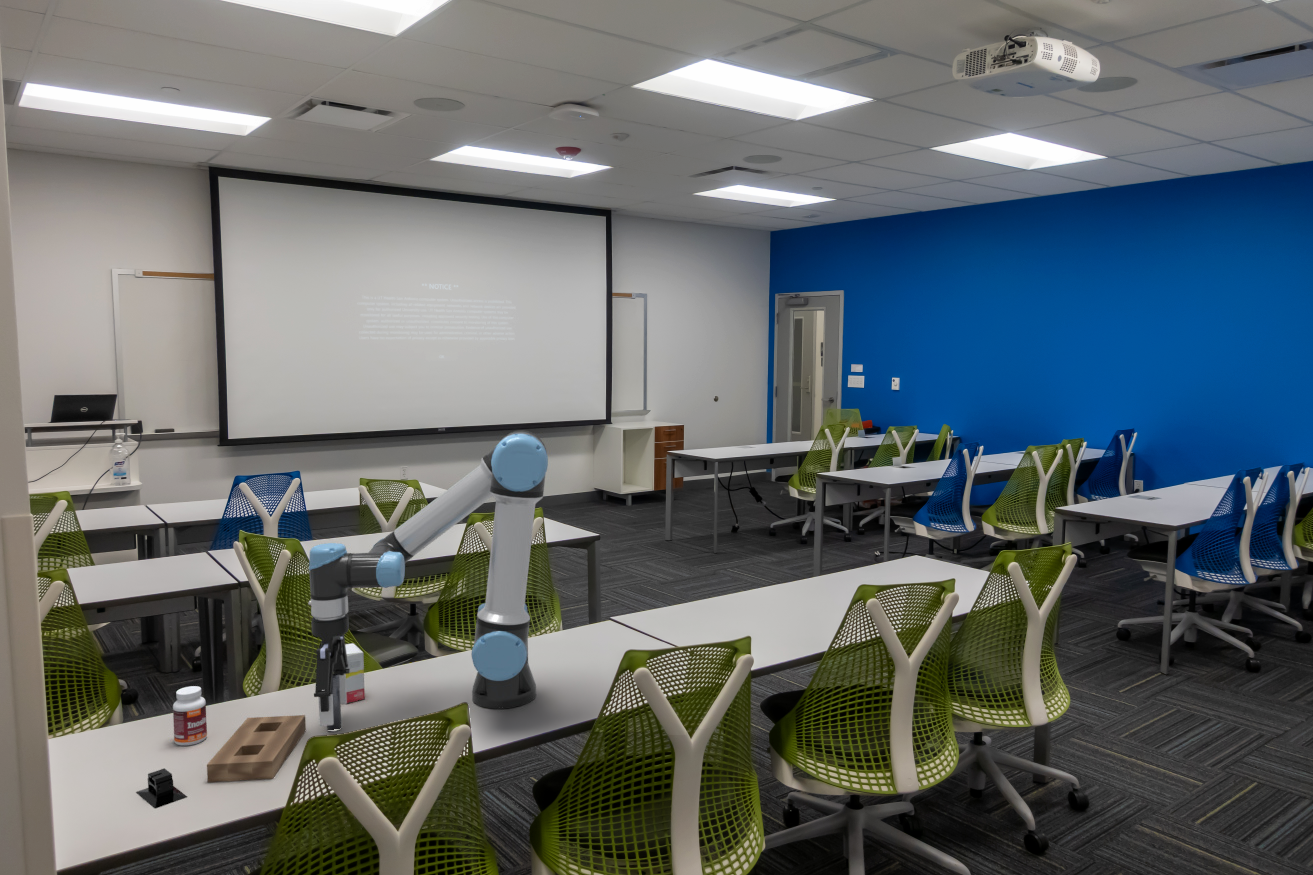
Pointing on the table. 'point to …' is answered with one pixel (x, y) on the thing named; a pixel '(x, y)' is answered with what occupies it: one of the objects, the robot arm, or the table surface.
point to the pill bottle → (189, 716)
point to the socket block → (257, 749)
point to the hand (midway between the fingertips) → (333, 713)
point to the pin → (336, 703)
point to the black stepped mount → (160, 789)
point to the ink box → (354, 674)
